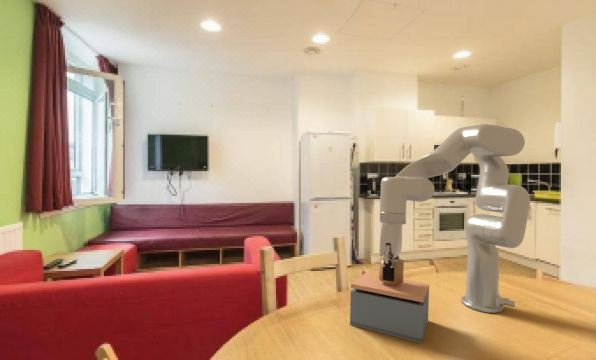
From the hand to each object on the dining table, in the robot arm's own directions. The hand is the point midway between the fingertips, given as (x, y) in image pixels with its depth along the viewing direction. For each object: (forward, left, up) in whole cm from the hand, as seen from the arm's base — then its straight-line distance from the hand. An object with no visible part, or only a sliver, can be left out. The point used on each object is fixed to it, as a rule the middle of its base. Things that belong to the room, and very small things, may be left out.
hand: (391, 276), depth 93 cm
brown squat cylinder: (0, 0, -1) cm, 1 cm away
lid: (0, 0, -4) cm, 4 cm away
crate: (0, 0, -14) cm, 14 cm away
